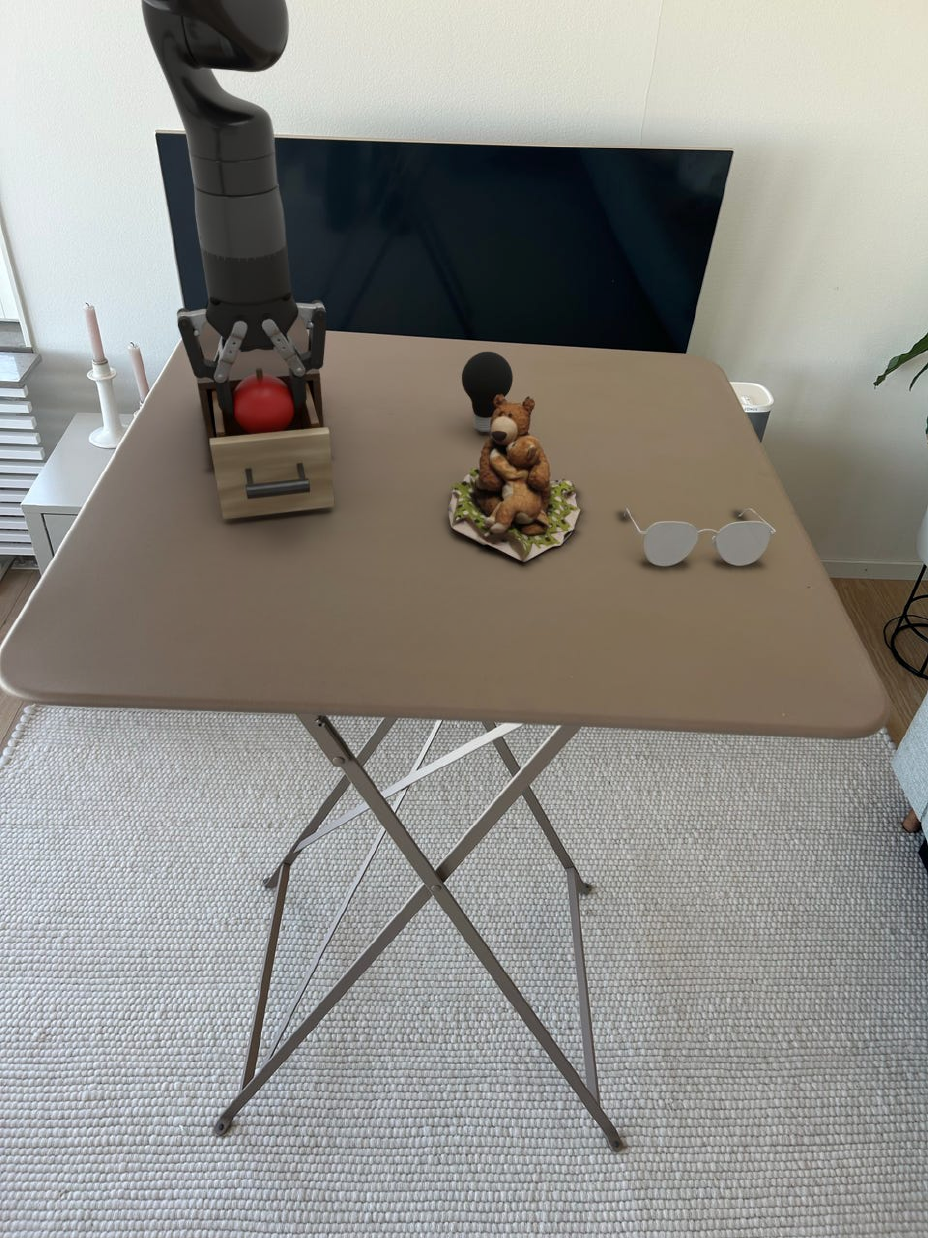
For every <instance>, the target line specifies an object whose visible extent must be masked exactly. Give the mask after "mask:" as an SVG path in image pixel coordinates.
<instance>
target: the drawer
mask: <svg viewBox="0 0 928 1238" xmlns="http://www.w3.org/2000/svg"><path fill="white" fill-rule="evenodd" d="M305 383H306V394H307V400H306V403H303V404H301V409H298V410H294V415H293V418H292V420H291V422H290V424H289V425H288V426H287V427H286V428H285V430H283V431H282V432H272V433H261V434H251V433H249V432H247V431H246V430H244V429H243V428H242V427H241V426H240V425H239V424H238V422H237V421H236V419H235V417H234V415H228V416H227V410H221V409H220V408H219V406H218V399H217V393H216V388H215V389H211V390H212V398H213V407H214V416H215V425H216V433H217V438H210V439H209V440H210V448H211V453H212V459H213V465H214V470H213V471H214V476H215V481H216V487H217V493H218V498H219V499H218V500H219V504H220V510H221V515H222V519H223V520H228V519H229V520H230V519H238V518H246V517H255V516H264V515H272V514H281V513H289V512H297V511H308V510H314V509H323V508H324V509H325V508H330V507H331V508H332V507H335V494H334V493H335V491H334V478H333V476H334V475H333V463H332V462H333V461H332V449H331V434H330V430H329V427H328V426H324V427H323V428H319V421H318V417H317V414H316V410H315V407H314V403H313V399H312V396H311V392H310V388H309V385H308V381H305ZM285 384H286V385H287V387H288V388H289V390H290V391H291V387H290V382H286V383H285ZM230 389H231V396H233V393H234V391H235V389H236V387H230Z"/></svg>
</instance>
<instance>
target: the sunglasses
mask: <svg viewBox="0 0 928 1238" xmlns="http://www.w3.org/2000/svg"><path fill="white" fill-rule="evenodd" d="M747 511H750V512H752V513H753V514H754V515H756V516H757V517H758V518H759V519H760V520H761V521H760V520H746V521H745V520H743V521H735V522H731V523H728V524H726V525H724V526H722V527H721V528H720V529H719V530H718V531H717V530H716V529H712V528H704V529H701V530H697V528H696V527H695V526H694V524H691V523H690V522H687V521H686V522H685V521H669V520H666V521H657V522H655V523H652V524H651V525H650V526H648V527H647V529H646V530H645V531H641V530H640V528H639V526H638V524H637V523H636V522H635V520H634V518H633V516H632V515H631V512H630V510H629V509H628V508H627V507H626V508H625V510H624V513H623V517H624V518H626V514H628V515H629V517H630V519H631V521H632V523H633V525H634V528H635V529H636V531H637V533H638V534H639V535H643V551H644V555H645V558H647V560H648V561H649V562H650V563H651V564H652V565H654V566H659V567H670V566H674V565H676V564H678V563H681V561H683V560H684V559H685V558H686V557H688V555H689V554H691V552H692V551H693V549H694V548H695V547H696V545H697V543H698V541H699V539H698V538H699V533H702V532H708V531H709V532H714V533H715V534H716V535H713V536H712V538H711V544H712V546H713V549H715V550H717V552H718V554H719V556H720V557H721V558H722V560H723V561H725V562H726V563H728V564H730V565H732V566H736V567H737V566H738V567H742V566H743V567H744V566H747V565H750V564H753V563H754V562H756V561H757V560H758V559H760V558H761V556H762V555H763V554H764V552H765V551H766V549H767V547H768V545H769V542H770V539H771V535H775V534H776V532H777V531H776V529H775V528H773V527H772V525H770V524H769V523H767V522H766V521H765V520H764V519H763V518H762V517H761V516H760V515H759V514H757V512H756V511H755V510H754V509H752V508H750V507H749V508H748V507H747V508H745V509H744V510H743V511H742V512H741V513H740V514H739V515H738V518H740V517H742V516H743V515H744V514H745V513H746V512H747Z"/></svg>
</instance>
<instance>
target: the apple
mask: <svg viewBox="0 0 928 1238" xmlns="http://www.w3.org/2000/svg"><path fill="white" fill-rule="evenodd" d="M232 402H233V409H234V417H235V419H236V421H237V422H238V424H239V425H240V426H241V427H242V428H243V429H244V430H246V431H247V432H249V433H251V434H261V433H272V432H282V431H283V430H285V428H286V427H287V426H288V425H289V424H290V422H291V420H292V418H293V415H294V403H293V397H292V393H291V391H290V390H289V388H288V387H287V385H286V384H285V383H284V382H283V381H281V380H280V379H278V378H277V377H275V376H272V375H269V374H262V368H256V374H254V375H251V376H249V377H247V378H245V379H244V380H242V381H241V382H240V383H239V384H238V386H237V387H236V389H235V391H234V393H233V396H232Z"/></svg>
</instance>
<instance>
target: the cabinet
mask: <svg viewBox="0 0 928 1238" xmlns="http://www.w3.org/2000/svg"><path fill="white" fill-rule="evenodd" d="M288 335H289V337H290V338H291V340H292V342H293V344H294V346H295V347H296V349H297V350H298V352H299V354H302V353H305V352H307V351H308V341H309V331H308V328H307V327H306V326H305V325H304V321H303V318H301V317H299V316H298V317H297V318H296V320H295V322H294V323H293V325H292V326H291V328H290V329H289V331H288ZM198 339H199V342H200V345H201V348H202V351H203V354H204V357H205V359H208V360H212V361H214V359H215V356H216V353H217V351H218V347H219V342H220V339H221V335H220V334H219V333H218V332H217V331H216V330H215V329H214V328H213V327H212V326H211V325H210V324H209V323H208V322H207V323H205V324H204V325H203V333H202V335H200V336H198ZM256 368H262V374H269V375H272V376H275V377H277V378H278V379H280V380H281V381H283V382H284V383H286V382H290V376H289V368H290V367H289V365H288V364H287V362H286V361H285V360H284V359H283V358H282V356H281V355H280V353H279V352H278V350H277V349H276V347H274V350H261V349H255V350H252V351H249V352H241V351H240V350H239V351H238V353H237V356H236V359H235V361H234V364H232V366H231V369H230V371H229V374H228V375H229V382H230V387H237V386H238V384H239V383H240V382H241V381H242V380H244V379H245V378H247V377H249V376H251V375H254V374H256ZM305 381H308V385H309V388H310V392H311V396H312V399H313V403H314V407H315V410H316V414H317V417H318V421H319V428H323V427H325V424H324V412H323V410H324V409H323V398H322V385H321V384H322V383H321V373H320V369H311V370H309V371H308V372H307V373H306V374H305ZM196 384H197V391H198V395H199V396H198V397H199V401H200V407H201V413H202V418H203V425H204V430H205V435H206V440H207V447H208V452H209V456H210V464H211V469H212V471H215V470H214V465H213V459H212V453H211V448H210V440H209V439H210V438H217V433H216V425H215V416H214V407H213V398H212V390H211V389H215V388H216V387H215V383H214V381H213V380H212V379H210V378H206V377H204V378H197V377H196Z"/></svg>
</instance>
